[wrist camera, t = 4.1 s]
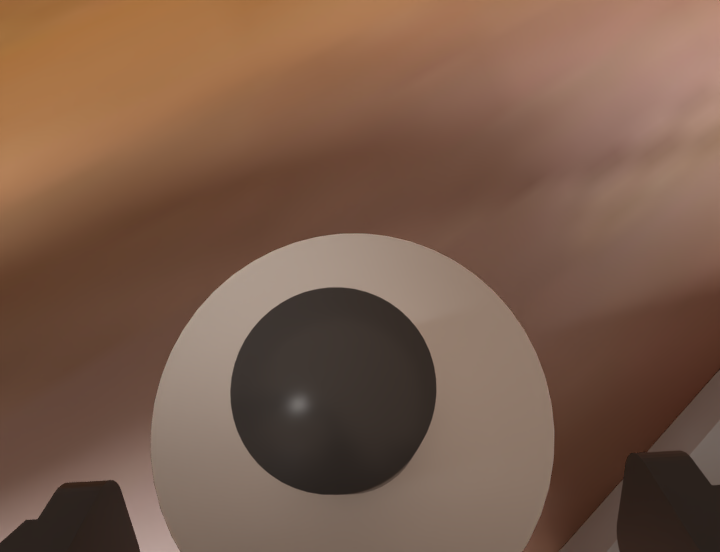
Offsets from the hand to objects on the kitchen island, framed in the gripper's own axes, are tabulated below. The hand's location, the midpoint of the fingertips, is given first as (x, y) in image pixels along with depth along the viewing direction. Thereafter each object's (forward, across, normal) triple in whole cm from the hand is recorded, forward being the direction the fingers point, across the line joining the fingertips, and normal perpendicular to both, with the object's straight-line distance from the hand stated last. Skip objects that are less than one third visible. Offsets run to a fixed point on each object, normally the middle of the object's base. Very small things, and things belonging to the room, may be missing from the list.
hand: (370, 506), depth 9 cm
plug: (+6, 0, +5) cm, 8 cm away
